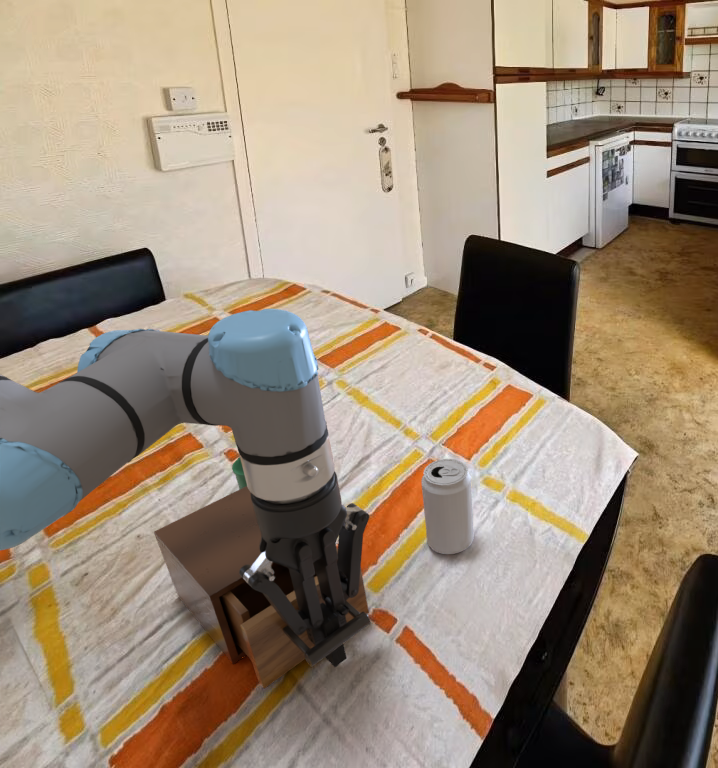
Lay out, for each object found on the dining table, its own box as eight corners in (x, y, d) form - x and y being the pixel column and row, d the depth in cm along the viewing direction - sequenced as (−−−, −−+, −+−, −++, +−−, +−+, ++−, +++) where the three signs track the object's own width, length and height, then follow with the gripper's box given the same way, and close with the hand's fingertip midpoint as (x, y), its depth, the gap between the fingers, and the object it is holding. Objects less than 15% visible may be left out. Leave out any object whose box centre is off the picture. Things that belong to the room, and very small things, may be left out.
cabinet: (344, 589, 78) (332, 524, 73) (233, 664, 69) (209, 596, 64) (284, 536, 87) (269, 474, 82) (178, 596, 78) (153, 531, 72)
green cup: (230, 490, 96) (221, 461, 93) (266, 473, 100) (259, 444, 97) (255, 512, 91) (246, 482, 89) (291, 493, 95) (285, 464, 93)
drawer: (400, 640, 70) (392, 583, 66) (293, 725, 62) (276, 666, 57) (307, 558, 82) (295, 505, 78) (206, 619, 73) (186, 564, 69)
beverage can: (431, 525, 88) (424, 456, 83) (476, 526, 88) (472, 456, 82) (424, 558, 83) (416, 485, 77) (472, 558, 83) (468, 486, 77)
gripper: (244, 536, 50) (298, 720, 61) (377, 463, 58) (403, 637, 69) (203, 497, 54) (260, 675, 65) (331, 434, 62) (362, 602, 74)
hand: (333, 655), depth 67 cm, fingers closed
